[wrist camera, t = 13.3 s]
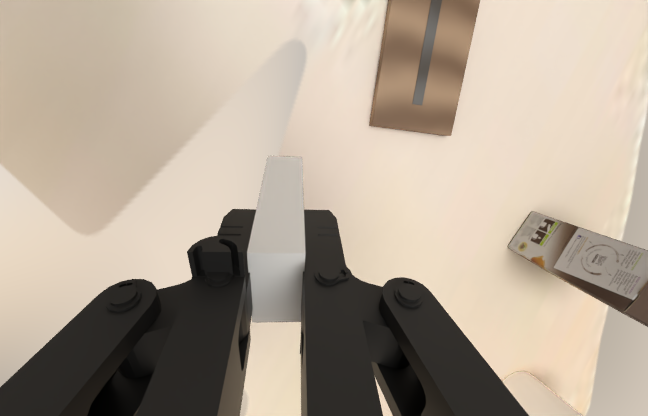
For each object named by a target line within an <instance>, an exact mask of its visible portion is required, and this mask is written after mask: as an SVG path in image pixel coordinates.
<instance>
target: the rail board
mask: <svg viewBox="0 0 648 416" xmlns="http://www.w3.org/2000/svg"><path fill="white" fill-rule="evenodd" d="M479 3H480V0H388V7H387V13H386V20H385V26H384V33H383V39H382V46H381V53H380V59H379V66H378V72H377V79H376V85H375V92H374V98H373V105H372V112H371V118H370V125H369V126H377V127H384V128H392V129H399V130H407V131H414V132H422V133H429V134H437V135H444V136H451V133H452V128H453V124H454V119H455V115H456V110H457V105H458V101H459V96H460V91H461V87H462V82H463V77H464V73H465V68H466V64H467V59H468V54H469V50H470V45H471V40H472V36H473V31H474V26H475V22H476V17H477V13H478V8H479Z"/></svg>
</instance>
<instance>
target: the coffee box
mask: <svg viewBox="0 0 648 416" xmlns="http://www.w3.org/2000/svg"><path fill="white" fill-rule="evenodd" d="M508 247H509V249H511V250H512V251H514V252H516V253H517V254H519V255H521V256H523V257H524V258H526V259H528V260H529V261H531V262H533V263H534V264H536V265H538V266H539V267H541V268H543V269H544V270H546V271H548V272H550V273H551V274H553V275H555V276H557V277H558V278H560V279H562V280H564V281H565V282H567V283H569V284H571V285H573V286H574V287H576V288H578V289H580V290H582V291H583V292H585V293H587V294H589V295H591V296H592V297H594V298H596V299H598V300H600V301H601V302H603V303H605V304H607V305H609V306H611V307H612V308H614V309H616V310H618V311H620V312H621V313H623V314H625V315H627V316H629V317H630V318H632V319H634V320H636V321H638V322H640V323H642V324H643V325H645V326H647V327H648V250H645V249H641V248H639V247H636V246H633V245H630V244H627V243H624V242H621V241H618V240H615V239H612V238H610V237H607V236H604V235H601V234H598V233H595V232H592V231H589V230H586V229H583V228H580V227H577V226H574V225H571V224H568V223H565V222H562V221H559V220H557V219H554V218H551V217H548V216H545V215H542V214H539V213H536V212H531V213H530V215H529V216H528V218H527V219H526V221H525V222H524V224H523V225H522V226H521V228H520V229H519V231H518V232H517V234H516V235H515V237H514V238H513V239H512V241H511V242H510V244H509V246H508Z"/></svg>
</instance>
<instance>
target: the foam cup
mask: <svg viewBox="0 0 648 416" xmlns="http://www.w3.org/2000/svg"><path fill="white" fill-rule="evenodd" d="M502 382H503V384H504V385H505V386H506V387H507V389H508V390H509V391H510V392H511V394H512V395H513V396H514V397H515V399H516V400H517V401H518V402H519V404H520V405H521V406H522V407H523V409H524V410H525V411H526V412H527V414H528V415H529V416H583V415H582V414H580V413H579V412H578V411H577V410H575V409H574V408H573V407H572V406H570V405H569V404H568V403H567V402H565V401H564V400H563V399H562V398H561V397H559V396H558V395H557V394H556V393H554V392H553V391H552V390H551V389H549V388H548V387H547V386H546V385H544V384H543V383H542V382H541V381H540V380H538V379H537V378H536V377H534V376H533V375H532V374H530V373H528V372H525V371H520V372H515V373H513V374H510V375H509V376H507V377H506V378H505V379H504V380H503V381H502Z"/></svg>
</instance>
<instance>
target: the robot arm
mask: <svg viewBox="0 0 648 416" xmlns="http://www.w3.org/2000/svg"><path fill="white" fill-rule="evenodd" d="M339 235H340V234H339V229H338V224H337V219H336V217H335V216H334V215H333V214H332V213H331V212H330V211H329V210H304V198H303V170H302V157H290V156H268V158H267V163H266V168H265V172H264V177H263V181H262V186H261V190H260V195H259V199H258V204H257V209H256V210H250V209H232V210H231V211H230V212H229V213H228V214H227V215H226V216H225V217H224V218H223V221H222V223H221V227H220V229H219V231H218V236H214V237H208V238H205V239H202V240H200V241H198V242H197V243H195V244H194V245H192V246H191V248H190V249H189V250H188V251H187V253H188V258H189V263H190V268H191V273H192V279H191V280H189V281H187V282H185V283H182V284H179V285H175V286H171V287H167V288H163V289H159V290H157V289H156V288H155V286H154V285H153V284H152V282H149V281H146V280H144V279H132V280H127V281H122V282H119V283H117V284H115V285H112V286H110V287H108V288H107V289H106V290H104V291H103V292H102V293H100V294H99V295H98V296H97V297H96V298H95V299H94V300H92V301H91V303H89V304H88V305H87V306H86V307H85V308H84V309H83V310H82V311H81V312H80V313H79V314H78V315H77V316H76V317H74V318H73V319H72V320H71V321H70V322H69V323H68V324H67V325H66V326H65V327H64V328H63V329H62V330H61V331H60V332H59V333H58V334H56V335H55V336H54V337H53V338H52V339H51V340H50V341H49V342H48V343H47V344H46V345H45V346H44V347H43V348H42V349H41V350H39V352H37V353H36V354H35V355H34V356H33V357H32V358H31V359H30V360H29V361H28V362H27V363H26V364H25V365H24V366H23V367H22V368H20V369H19V370H18V372H16V373H15V374H14V375H13V376H12V377H11V378H10V379H9V380H8V381H7V382H6V383H4V384H3V385H2V386H1V387H0V416H240V409H241V402H242V395H243V389H244V382H245V375H246V368H247V361H248V354H249V347H250V340H251V339H250V322H251V316H252V322H301V343H300V354H301V416H383V414H382V409H381V404H380V400H379V395H378V390H377V386H376V381H375V377H376V379H377V382H378V384H379V386H380V388H381V390H382V393H383V395H384V397H385V399H386V401H387V403H388V406H389V408H390V410H391V412H392V414H393V416H529V415H528V414H527V412H526V411H525V410H524V409H523V407H522V406H521V405H520V404H519V402H518V401H517V400H516V399H515V397H514V396H513V395H512V394H511V392H510V391H509V390H508V389H507V387H506V386H505V385H504V384H503V382H502V381H501V380H500V378H499V377H498V376H497V375H496V373H495V372H494V371H493V370H492V368H491V367H490V366H489V365H488V363H487V362H486V361H485V360H484V358H483V357H482V356H481V355H480V353H479V352H478V351H477V350H476V348H475V347H474V346H473V345H472V343H471V342H470V341H469V340H468V338H467V337H466V336H465V335H464V333H463V332H462V331H461V330H460V328H459V327H458V326H457V325H456V323H455V322H454V321H453V319H452V318H451V317H450V316H449V314H448V313H447V312H446V311H445V309H444V308H443V307H442V306H441V304H440V303H439V302H438V301H437V299H436V298H435V297H434V296H433V294H432V293H431V292H430V291H429V290H428V289H427V288H426V287H425V286H424V285H423V284H421V283H419V282H417V281H415V280H412V279H408V278H394V279H391V280H389V281H387V282H386V284H385V285H384V286H383V287H381V286H377V285H373V284H369V283H366V282H363V281H361V280H359V279H357V278H356V277H354V276H353V275H352V273H351V271H350V270H349V269H348V268H347V267H346V264H345V259H344V254H343V249H342V244H341V239H340V236H339ZM374 375H375V376H374Z"/></svg>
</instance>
